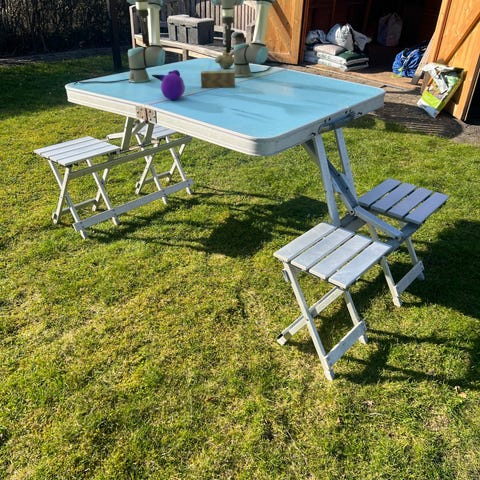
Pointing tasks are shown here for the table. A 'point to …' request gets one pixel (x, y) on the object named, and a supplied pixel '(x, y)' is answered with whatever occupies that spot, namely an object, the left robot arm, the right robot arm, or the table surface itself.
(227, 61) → the teapot
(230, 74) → the box
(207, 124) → the table surface
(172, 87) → the toy
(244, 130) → the table surface
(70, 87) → the table surface
